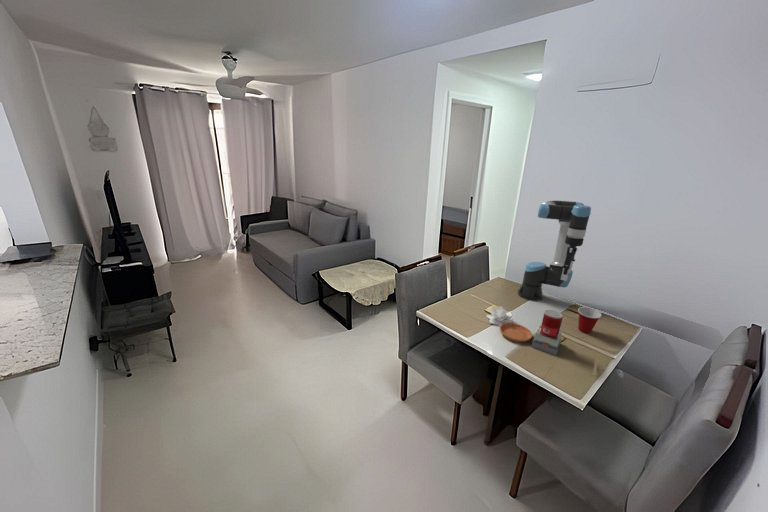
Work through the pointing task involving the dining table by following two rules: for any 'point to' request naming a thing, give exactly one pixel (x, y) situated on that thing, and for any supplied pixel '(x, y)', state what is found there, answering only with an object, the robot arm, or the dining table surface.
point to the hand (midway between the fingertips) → (565, 276)
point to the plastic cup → (587, 319)
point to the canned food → (551, 323)
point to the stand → (547, 342)
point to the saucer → (515, 332)
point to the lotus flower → (500, 316)
